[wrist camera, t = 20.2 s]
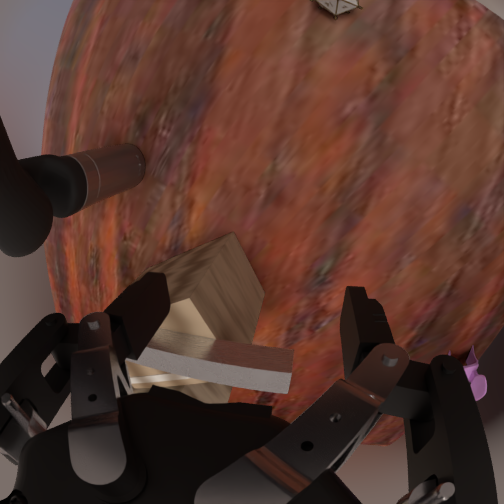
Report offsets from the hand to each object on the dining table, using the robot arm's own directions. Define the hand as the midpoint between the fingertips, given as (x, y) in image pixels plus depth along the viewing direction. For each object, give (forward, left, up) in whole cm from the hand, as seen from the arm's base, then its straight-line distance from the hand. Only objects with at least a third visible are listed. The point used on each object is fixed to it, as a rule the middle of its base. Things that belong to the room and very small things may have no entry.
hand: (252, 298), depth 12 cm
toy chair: (+48, -42, -38) cm, 74 cm away
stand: (-18, -30, -38) cm, 52 cm away
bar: (-10, -19, -16) cm, 27 cm away
